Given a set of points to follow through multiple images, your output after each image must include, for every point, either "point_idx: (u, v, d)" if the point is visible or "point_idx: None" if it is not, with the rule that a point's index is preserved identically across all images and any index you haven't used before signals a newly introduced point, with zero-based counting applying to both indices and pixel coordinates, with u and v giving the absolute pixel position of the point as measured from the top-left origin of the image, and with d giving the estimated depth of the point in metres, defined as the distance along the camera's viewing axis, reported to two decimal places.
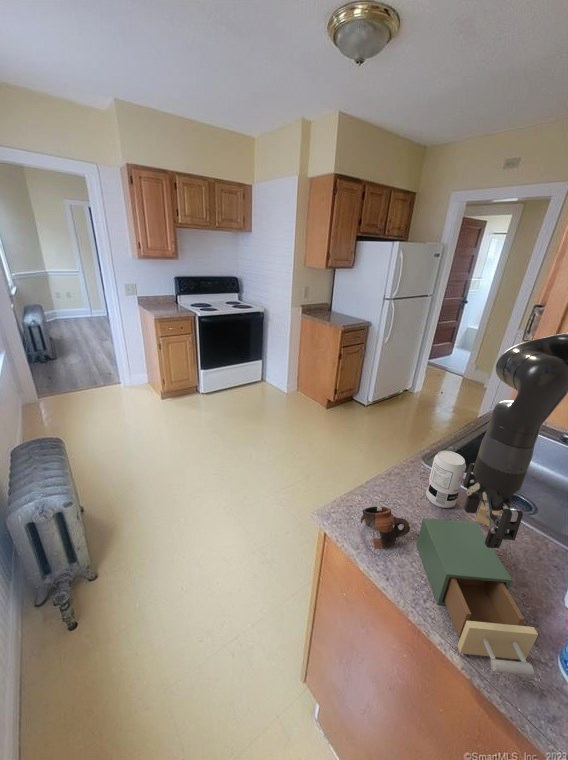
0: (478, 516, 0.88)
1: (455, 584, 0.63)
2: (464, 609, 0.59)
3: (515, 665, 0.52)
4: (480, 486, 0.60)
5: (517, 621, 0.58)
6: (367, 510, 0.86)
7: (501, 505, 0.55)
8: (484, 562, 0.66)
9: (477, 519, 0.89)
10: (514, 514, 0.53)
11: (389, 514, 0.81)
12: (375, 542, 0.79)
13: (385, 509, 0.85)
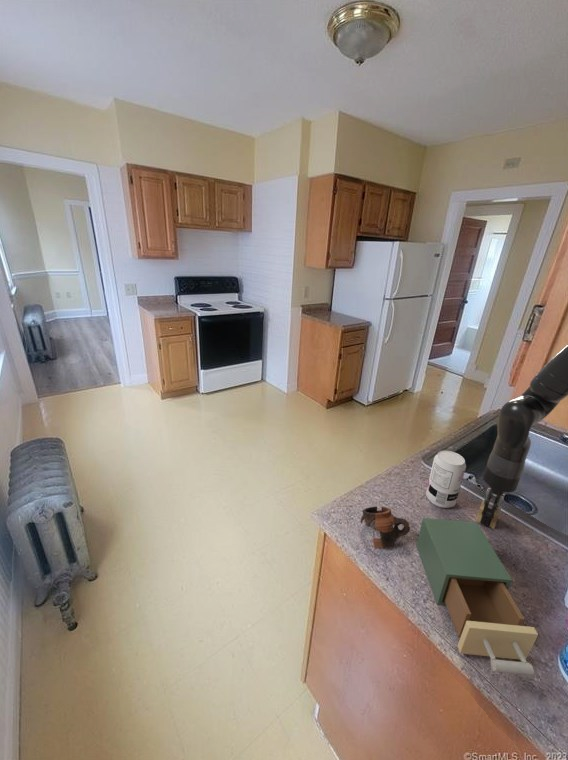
0: (478, 516, 0.88)
1: (455, 584, 0.63)
2: (464, 609, 0.59)
3: (515, 665, 0.52)
4: (489, 485, 0.87)
5: (517, 621, 0.58)
6: (367, 510, 0.86)
7: (489, 499, 0.83)
8: (484, 562, 0.66)
9: (477, 519, 0.89)
10: (490, 504, 0.81)
11: (389, 514, 0.81)
12: (375, 542, 0.79)
13: (385, 509, 0.85)
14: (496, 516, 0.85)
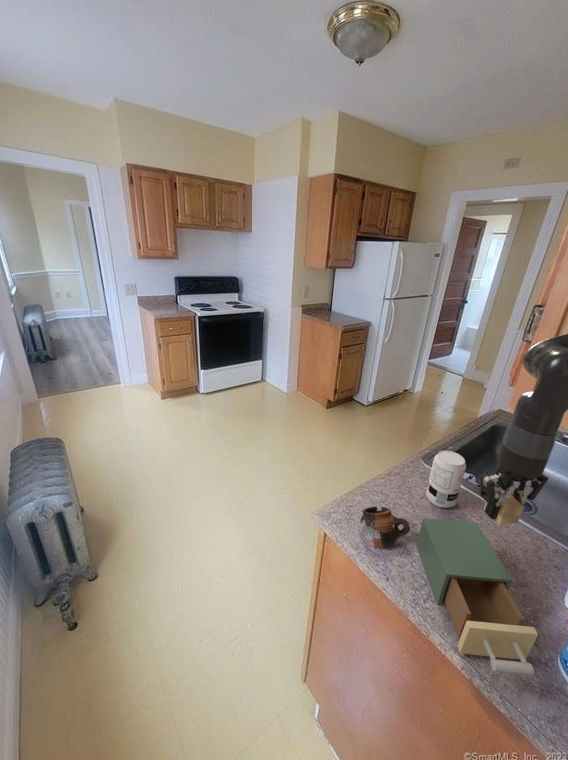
0: (486, 504, 0.69)
1: (455, 584, 0.63)
2: (464, 609, 0.59)
3: (515, 665, 0.52)
4: None
5: (517, 621, 0.58)
6: (367, 510, 0.86)
7: None
8: (484, 562, 0.66)
9: None
10: (484, 480, 0.63)
11: (389, 514, 0.81)
12: (375, 542, 0.79)
13: (385, 509, 0.85)
14: (503, 507, 0.64)
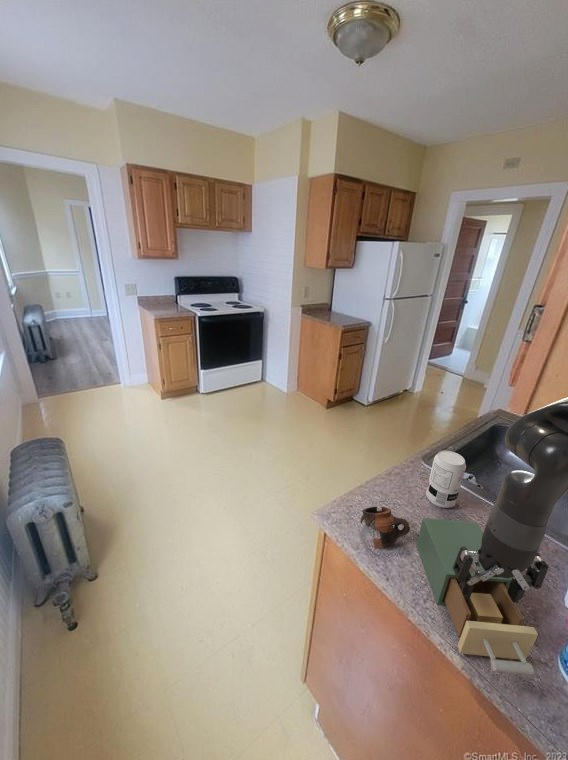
0: None
1: (455, 584, 0.63)
2: (464, 609, 0.59)
3: (515, 665, 0.52)
4: None
5: (517, 621, 0.58)
6: (367, 510, 0.86)
7: None
8: None
9: None
10: (463, 553, 0.57)
11: (389, 514, 0.81)
12: (375, 542, 0.79)
13: (385, 509, 0.85)
14: (477, 614, 0.60)
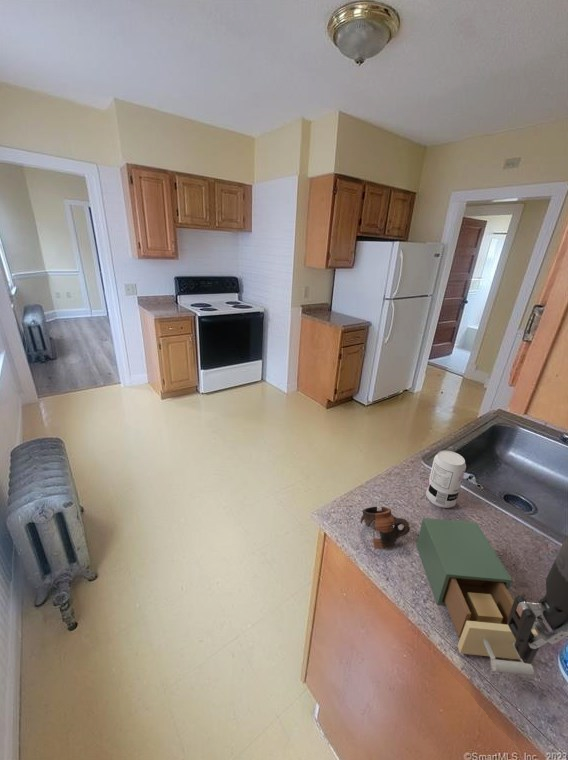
0: None
1: (455, 584, 0.63)
2: (464, 609, 0.59)
3: (515, 665, 0.52)
4: None
5: None
6: (367, 510, 0.86)
7: None
8: (484, 562, 0.66)
9: None
10: (520, 606, 0.42)
11: (389, 514, 0.81)
12: (375, 542, 0.79)
13: (385, 509, 0.85)
14: (477, 614, 0.60)
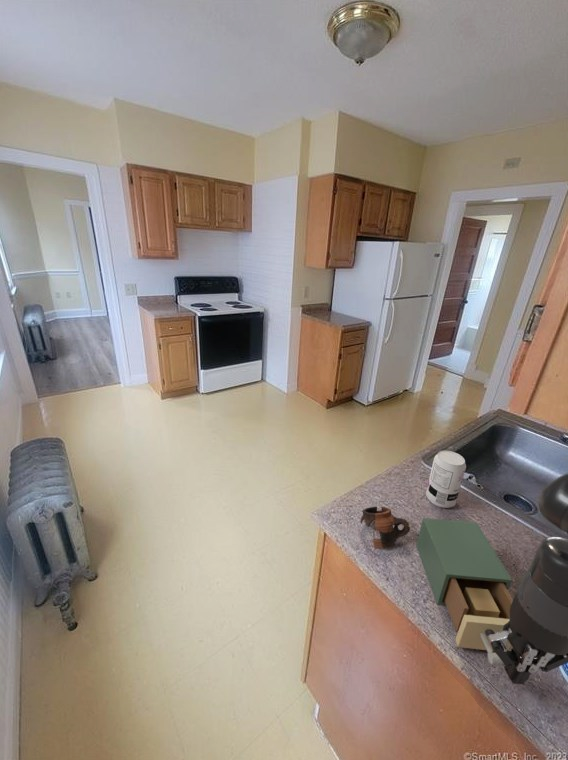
0: None
1: (453, 579, 0.64)
2: (462, 604, 0.60)
3: None
4: None
5: None
6: (367, 510, 0.86)
7: None
8: (484, 562, 0.66)
9: None
10: None
11: (389, 514, 0.81)
12: (375, 542, 0.79)
13: (385, 509, 0.85)
14: (474, 608, 0.61)
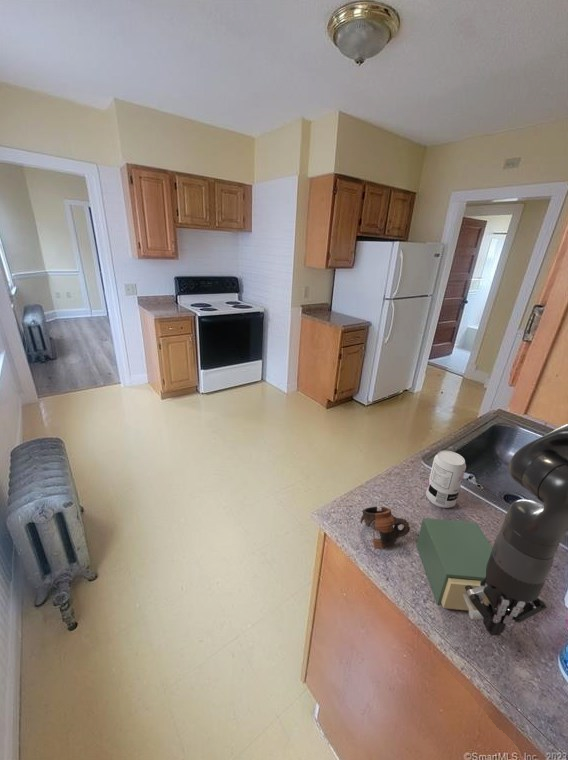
0: None
1: None
2: None
3: None
4: None
5: None
6: (367, 510, 0.86)
7: None
8: (484, 562, 0.66)
9: None
10: (468, 594, 0.56)
11: (389, 514, 0.81)
12: (375, 542, 0.79)
13: (385, 509, 0.85)
14: None
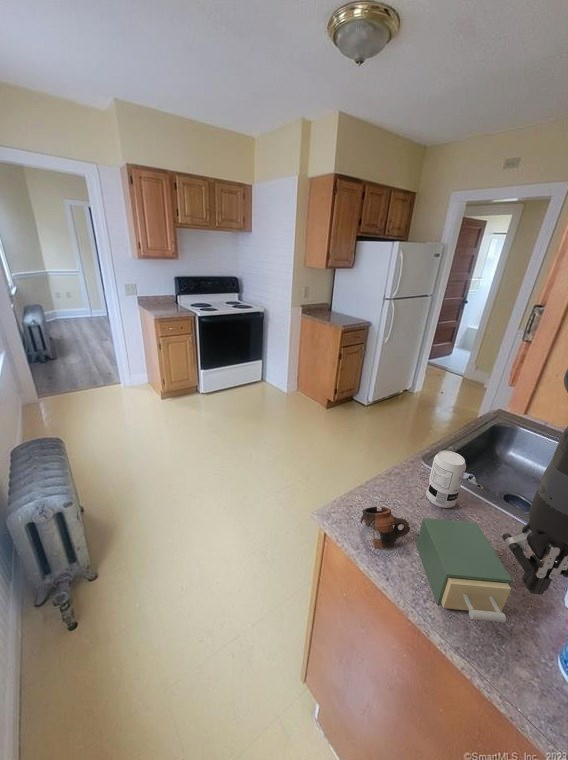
0: None
1: None
2: None
3: (490, 614, 0.60)
4: None
5: None
6: (367, 510, 0.86)
7: None
8: (484, 562, 0.66)
9: None
10: (506, 543, 0.46)
11: (389, 514, 0.81)
12: (375, 542, 0.79)
13: (385, 509, 0.85)
14: None
